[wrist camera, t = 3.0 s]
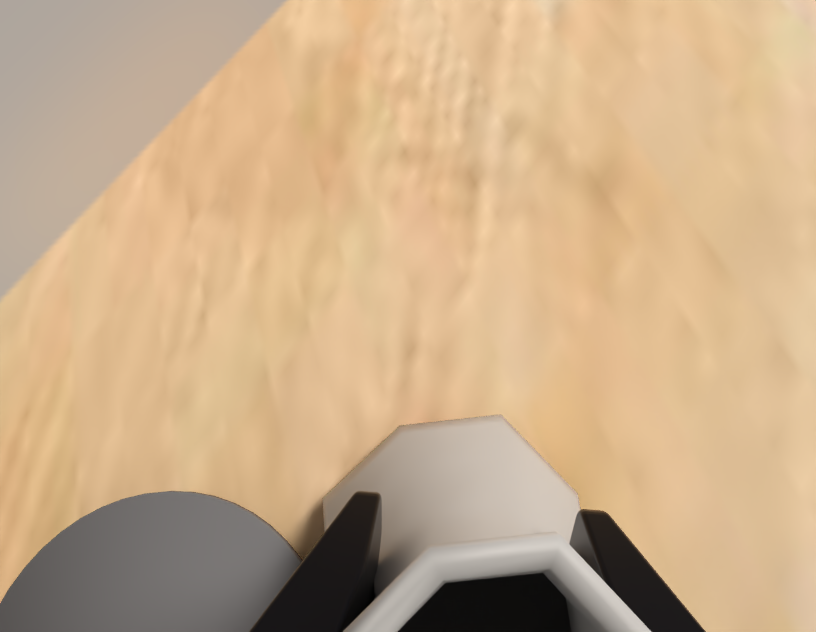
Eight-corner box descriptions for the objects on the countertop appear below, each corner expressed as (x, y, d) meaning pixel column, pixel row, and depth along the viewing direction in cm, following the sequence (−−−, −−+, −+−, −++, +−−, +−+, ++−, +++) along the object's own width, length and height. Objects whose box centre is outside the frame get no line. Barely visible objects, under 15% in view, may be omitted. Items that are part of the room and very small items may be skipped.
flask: (513, 373, 15) (649, 224, 6) (645, 629, 14) (1164, 1025, 4) (282, 480, 15) (16, 509, 5) (386, 762, 13) (261, 1598, 3)
